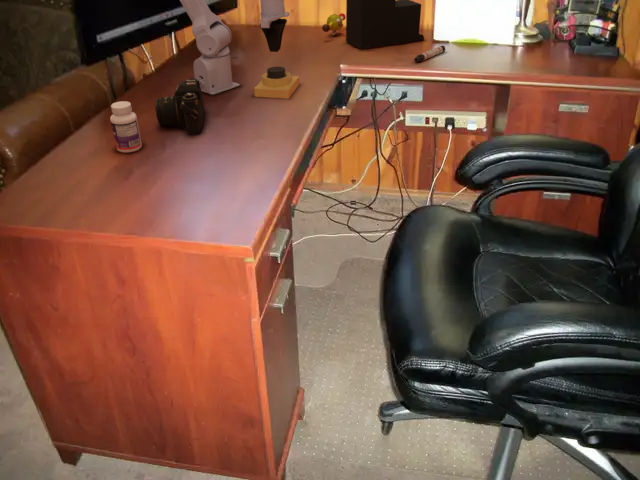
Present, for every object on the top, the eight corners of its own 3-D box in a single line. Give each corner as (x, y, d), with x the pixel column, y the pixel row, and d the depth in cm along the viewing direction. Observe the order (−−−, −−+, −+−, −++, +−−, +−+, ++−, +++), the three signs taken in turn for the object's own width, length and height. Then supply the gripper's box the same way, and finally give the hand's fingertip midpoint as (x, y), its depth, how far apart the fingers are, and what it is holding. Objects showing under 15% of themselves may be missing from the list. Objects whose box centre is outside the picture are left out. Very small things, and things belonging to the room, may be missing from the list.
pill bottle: (119, 143, 135) (110, 100, 130) (144, 142, 135) (136, 99, 130) (114, 153, 130) (104, 109, 125) (140, 152, 131) (131, 108, 125)
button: (282, 80, 158) (282, 72, 157) (265, 79, 159) (264, 71, 158) (287, 74, 162) (287, 66, 160) (270, 73, 162) (270, 66, 161)
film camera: (150, 115, 148) (142, 74, 143) (200, 107, 153) (195, 67, 147) (166, 142, 135) (159, 98, 129) (221, 132, 139) (216, 89, 134)
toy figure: (333, 42, 200) (333, 21, 196) (317, 41, 202) (317, 20, 198) (351, 29, 214) (351, 9, 210) (336, 28, 216) (336, 8, 212)
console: (288, 98, 157) (287, 83, 155) (254, 96, 158) (253, 81, 156) (299, 84, 166) (298, 69, 164) (267, 82, 167) (266, 68, 165)
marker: (439, 51, 189) (440, 44, 188) (445, 52, 188) (445, 45, 187) (411, 63, 180) (411, 56, 179) (416, 64, 179) (417, 57, 178)
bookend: (406, 33, 208) (410, -43, 195) (424, 40, 200) (430, -39, 187) (345, 42, 200) (345, -37, 187) (361, 50, 192) (362, -31, 179)
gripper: (279, 0, 142) (282, 59, 150) (295, -12, 154) (297, 43, 162) (250, -1, 144) (254, 58, 151) (268, -13, 156) (271, 42, 163)
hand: (275, 50), depth 156 cm, fingers closed
